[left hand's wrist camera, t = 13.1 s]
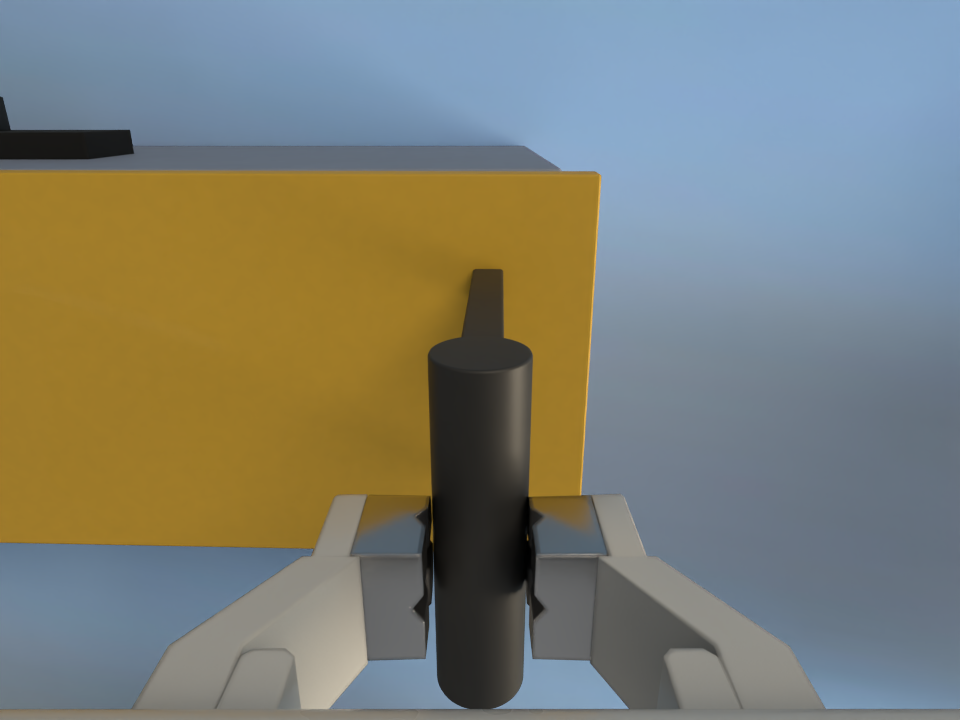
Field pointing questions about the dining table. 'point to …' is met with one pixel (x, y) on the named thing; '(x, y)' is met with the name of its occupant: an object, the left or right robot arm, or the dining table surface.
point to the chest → (305, 159)
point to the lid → (301, 367)
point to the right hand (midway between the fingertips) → (143, 313)
